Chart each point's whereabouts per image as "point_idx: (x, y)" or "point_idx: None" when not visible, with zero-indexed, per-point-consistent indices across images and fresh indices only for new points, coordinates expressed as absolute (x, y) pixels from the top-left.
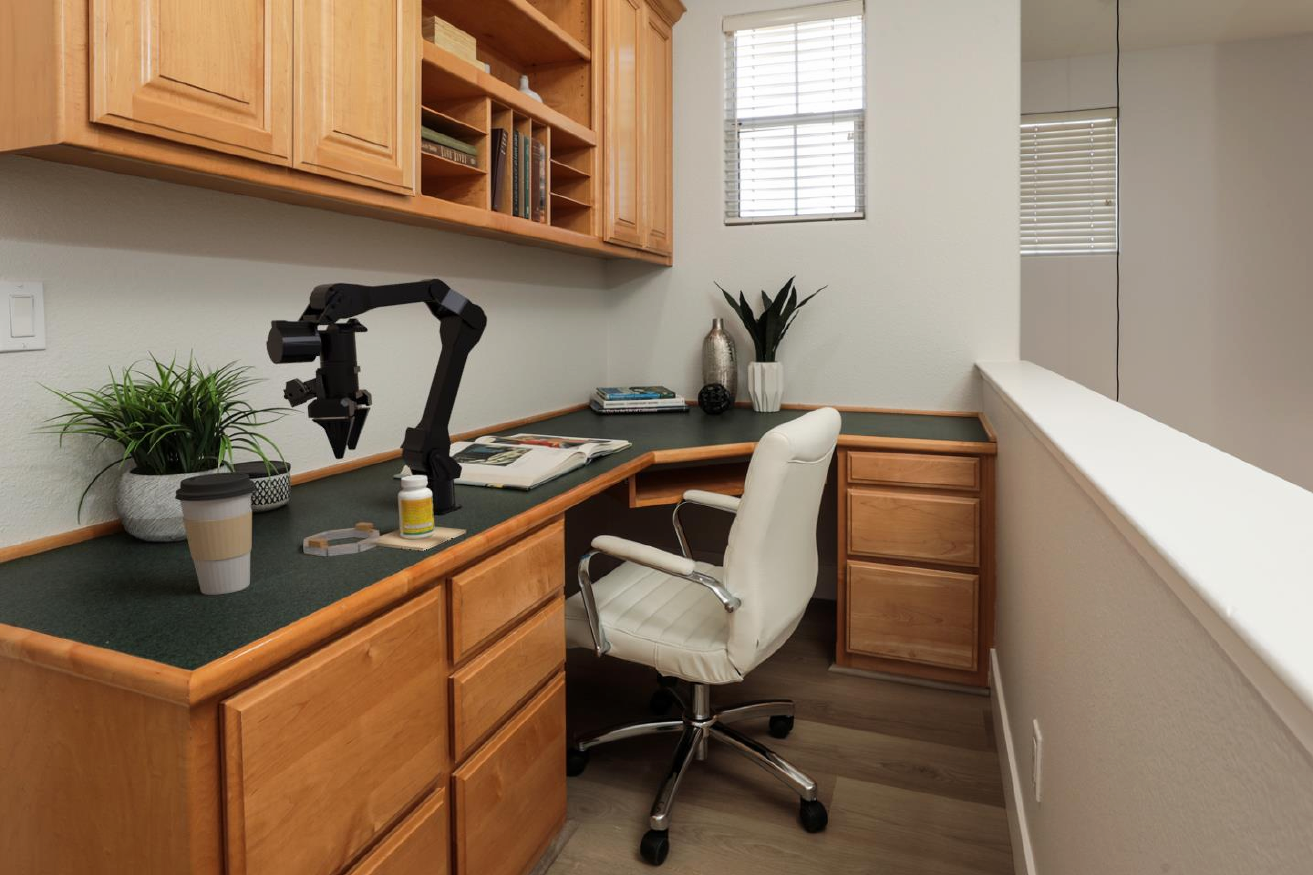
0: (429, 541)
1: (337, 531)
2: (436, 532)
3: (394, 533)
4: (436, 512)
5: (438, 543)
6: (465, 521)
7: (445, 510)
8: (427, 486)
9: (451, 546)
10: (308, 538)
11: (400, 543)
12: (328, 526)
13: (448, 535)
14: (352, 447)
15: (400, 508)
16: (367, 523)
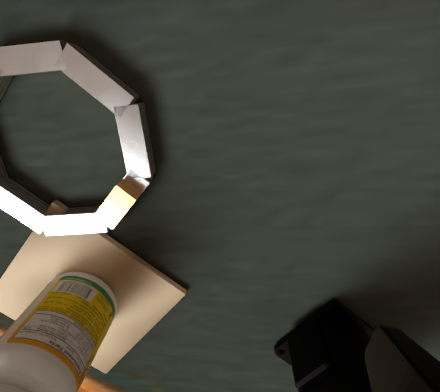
0: None
1: (122, 133)
2: None
3: (111, 258)
4: (282, 342)
5: None
6: (199, 376)
7: (287, 359)
8: (313, 390)
9: None
10: (59, 55)
11: (23, 267)
12: (284, 91)
13: None
14: (374, 358)
15: (16, 323)
16: (118, 215)
